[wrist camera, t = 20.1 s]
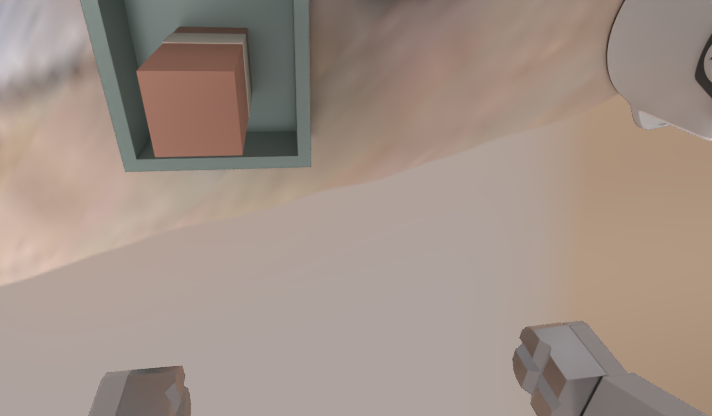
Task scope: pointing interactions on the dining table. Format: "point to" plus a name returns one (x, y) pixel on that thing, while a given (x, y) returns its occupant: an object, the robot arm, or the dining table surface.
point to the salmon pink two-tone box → (198, 92)
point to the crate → (268, 74)
